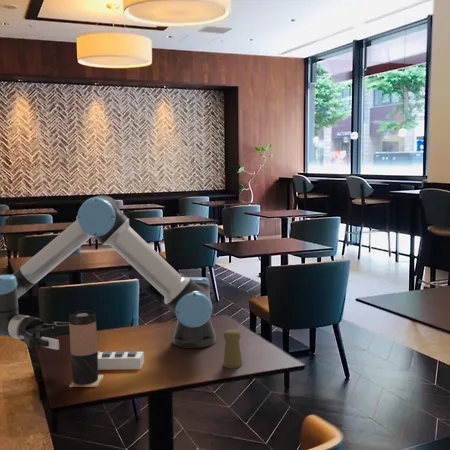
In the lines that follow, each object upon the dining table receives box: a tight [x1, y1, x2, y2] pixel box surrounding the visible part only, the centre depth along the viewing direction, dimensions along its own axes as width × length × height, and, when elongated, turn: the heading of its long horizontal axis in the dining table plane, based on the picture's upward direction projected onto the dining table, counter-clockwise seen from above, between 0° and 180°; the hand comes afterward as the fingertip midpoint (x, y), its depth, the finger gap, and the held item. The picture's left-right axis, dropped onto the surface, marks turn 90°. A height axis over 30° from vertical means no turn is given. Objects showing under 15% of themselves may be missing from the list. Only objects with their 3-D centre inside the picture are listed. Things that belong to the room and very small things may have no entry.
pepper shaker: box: [222, 329, 243, 369], centre depth 177 cm, size 6×6×11 cm
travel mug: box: [68, 309, 99, 385], centre depth 165 cm, size 8×8×20 cm
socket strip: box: [98, 350, 145, 371], centre depth 179 cm, size 18×6×4 cm, turn 88°
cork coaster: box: [68, 374, 105, 388], centre depth 166 cm, size 8×8×1 cm
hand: (76, 338), depth 166 cm, fingers open, 13 cm apart
